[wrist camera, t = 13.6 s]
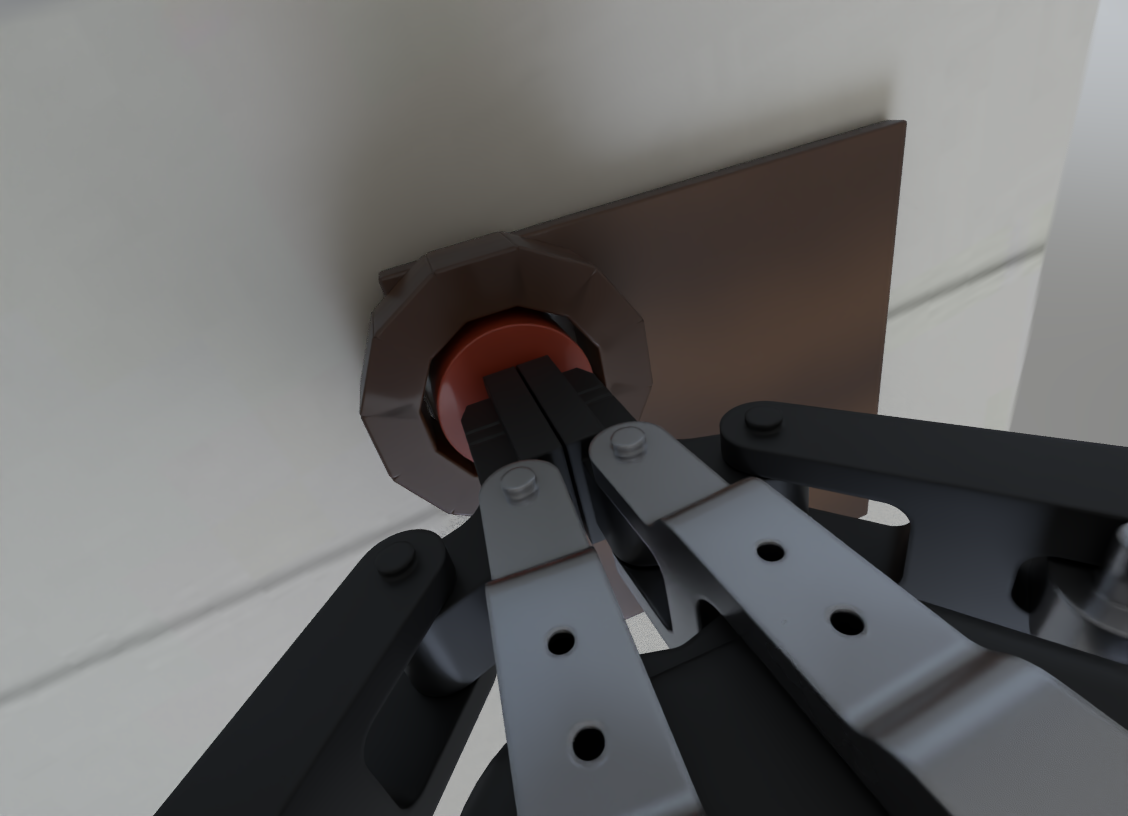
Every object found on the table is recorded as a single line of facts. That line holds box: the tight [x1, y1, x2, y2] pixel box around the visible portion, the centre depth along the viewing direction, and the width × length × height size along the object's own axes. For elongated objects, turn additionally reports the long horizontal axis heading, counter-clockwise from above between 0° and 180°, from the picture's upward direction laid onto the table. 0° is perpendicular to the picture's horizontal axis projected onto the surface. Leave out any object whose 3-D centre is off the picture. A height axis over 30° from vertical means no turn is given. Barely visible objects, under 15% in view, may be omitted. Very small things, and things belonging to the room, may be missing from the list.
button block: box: [360, 120, 907, 620], centre depth 16 cm, size 14×15×2 cm
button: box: [430, 306, 593, 462], centre depth 13 cm, size 4×4×2 cm
